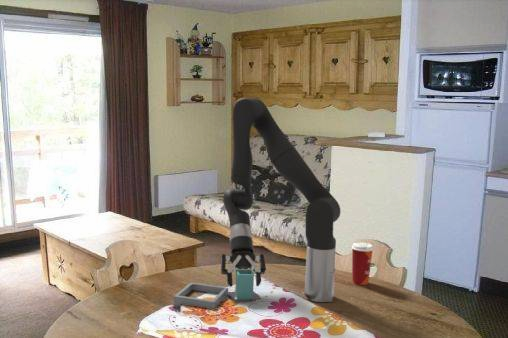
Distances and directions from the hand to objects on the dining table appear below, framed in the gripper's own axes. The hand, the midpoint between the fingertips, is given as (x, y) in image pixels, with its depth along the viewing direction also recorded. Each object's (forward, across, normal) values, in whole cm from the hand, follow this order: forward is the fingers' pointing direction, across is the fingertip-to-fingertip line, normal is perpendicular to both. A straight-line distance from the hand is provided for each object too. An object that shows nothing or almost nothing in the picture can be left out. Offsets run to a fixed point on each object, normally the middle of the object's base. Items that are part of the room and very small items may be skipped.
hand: (244, 285), depth 159 cm
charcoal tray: (+4, -13, +4) cm, 14 cm away
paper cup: (-7, +44, +15) cm, 47 cm away
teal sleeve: (+2, 0, +4) cm, 4 cm away
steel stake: (+3, 0, +5) cm, 6 cm away
